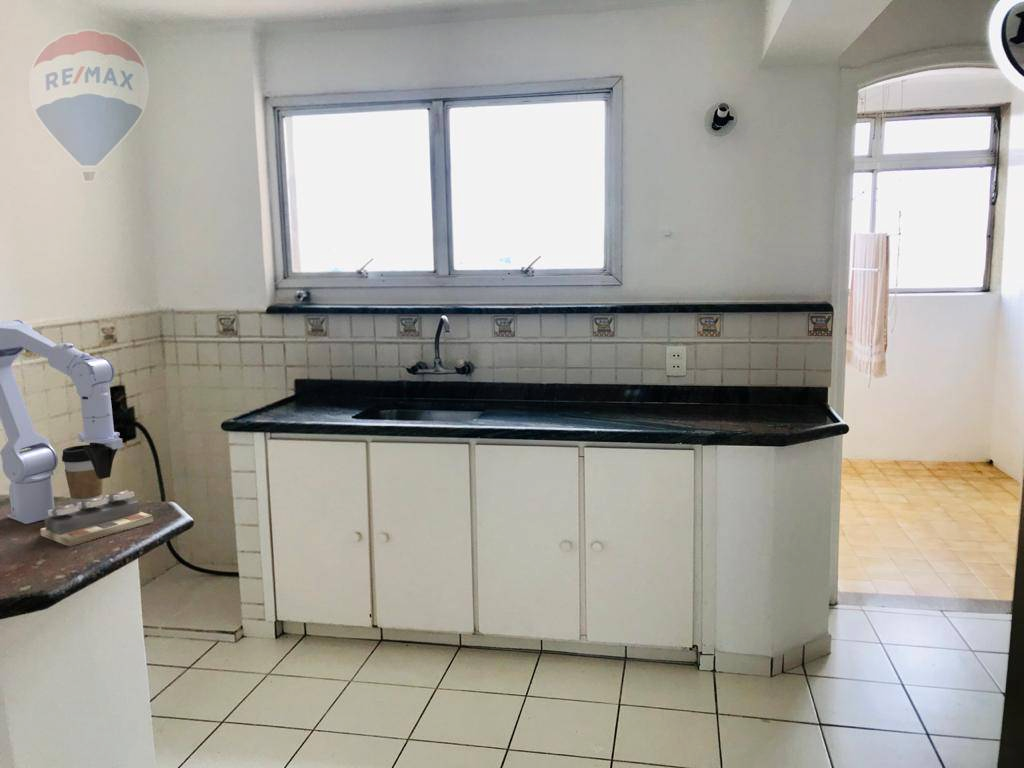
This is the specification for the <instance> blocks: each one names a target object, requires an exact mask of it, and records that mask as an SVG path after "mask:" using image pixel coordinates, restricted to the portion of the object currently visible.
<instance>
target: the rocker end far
mask: <svg viewBox="0 0 1024 768" xmlns="http://www.w3.org/2000/svg"><path fill="white" fill-rule="evenodd" d="M135 496H136V495H135V492H134V491H129V490H128V489H126V490H122V491H118V492H113V493H110V494H107V495H104V498H103V499H107V501H110V502H115V501H119V500H123V499H127V498H128V499H131V498H133V497H135Z"/></svg>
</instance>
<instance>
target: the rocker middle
mask: <svg viewBox="0 0 1024 768" xmlns="http://www.w3.org/2000/svg"><path fill="white" fill-rule="evenodd" d="M107 503H108V501H107V499H105V498H103V496H102V497H97V498H93V499H90V500H86V501H82V502H79V503H77V506H79V508H83V509H84V510H85V509H88V508H92V507H96V506H100V505H103V504H107Z"/></svg>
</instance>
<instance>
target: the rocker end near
mask: <svg viewBox="0 0 1024 768" xmlns="http://www.w3.org/2000/svg"><path fill="white" fill-rule="evenodd" d="M76 511H80V510H79V506H74V505H73V504H72V503H70V504H67V505H62V506H59V507H55V508H54V509H52V510H48V515H53V516H54V517H58V516H62V515H66V514H69V513H73V512H76Z"/></svg>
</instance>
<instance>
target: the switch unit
mask: <svg viewBox="0 0 1024 768" xmlns="http://www.w3.org/2000/svg"><path fill="white" fill-rule="evenodd" d="M79 510H80V511H76V512H73V513H69V514H66V515H62V516H58V517H54V516H49V517H45V518H44V525H45V527H41V528H40V530H39V531H40V536H42V537H43V538H47V539H49V540H51V541H55V542H57V543H59V544H61V545H64V546H66V547H74V546H77V545H79V544H83V543H87V542H89V541H93V539H94V540H96V538H97V539H100V538H99V537H101V538H104V537H107V536H111V535H114V534H118V533H121V532H124V530H125V531H128V530H130V529H134V528H139V527H142V526H144V525H147V524H152V523H154V516H153V514H149V513H145V512H143V511H140V502H139V501H138V500H134V499H131V498H127V499H123V500H119V501H115V502H110V501H108V503H107V504H103V505H100V506H96V507H92V508H88V509H85V510H84V509H83V508H80V509H79ZM127 529H128V530H127ZM113 533H114V534H113ZM110 534H111V535H110ZM106 535H107V536H106ZM103 536H104V537H103ZM86 541H87V542H86Z"/></svg>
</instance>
